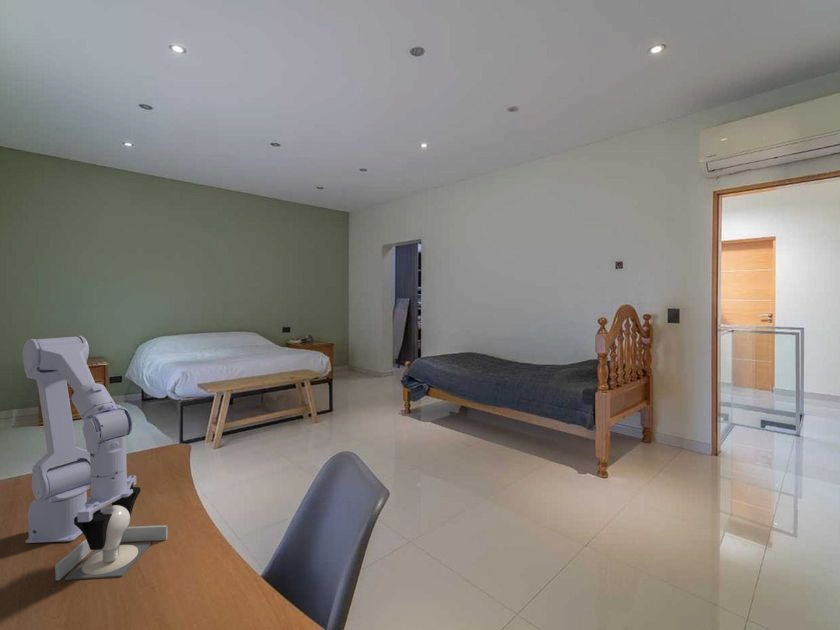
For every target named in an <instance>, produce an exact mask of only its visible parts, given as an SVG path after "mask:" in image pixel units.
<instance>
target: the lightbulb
mask: <svg viewBox="0 0 840 630" xmlns="http://www.w3.org/2000/svg"><path fill="white" fill-rule="evenodd" d="M102 512H103V514H112V516H111V518H110V520H109V523H108V526H107V530H106V541H105V546H104V548H103V549H102V551H103V552H102V553H103V554H102V555H103V556H102V557H103V558H102V559H103V561H104V562H112V561H114V560H115V559H117V558H118V557H119V544H121V543H122V542H121V538H122V535H123V533H124V532H125V530H126V529H127V527H129V525H130V523H131V517H130V513H129V511H128V510H127V509H126V508H125V507H123V506H120V505H112V504H111V505H107V506H105V507H103V508H102V509H101V513H102Z"/></svg>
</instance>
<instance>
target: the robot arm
mask: <svg viewBox="0 0 840 630" xmlns="http://www.w3.org/2000/svg"><path fill="white" fill-rule="evenodd" d="M89 347H90V346H89V343H88V340H87V339H86V338H85V337H84V336H83V335H76V336H66V337H65V336H64V337H63V336H62V337H51V338H49V337H47V338H36V339H35V338H29V339H28V340H27V341H26V342H25V343H24V344H23V348H22V354H21V355H22V362H23V368H24V373H25V375H26V378H28V379H31V380H35V381H36V386H37V389H38V395H39V402H40V409H41V416H42V421H43V422H42V423H43V424H42V425H43V429H44V430H43V431H44V438H45V443H46V451H47V452H46V453H45V455H43V457H41V458H40V459H39V460H38V461H37V462H36V463H34V465H33V466H32V470H31V473H32V474H31V477H32V478H31V489H32V494H33V495H34V499H33V500H32V501H31V502H30V505H29V508H28V512H27V524H28V525H27V526H28V528H27V529H28V530H27V531H28V538H27V539H26V540H25V544H36V543H37V544H38V543H55V542H56V543H59V542H72V541H74V540H76V539H77V538H79V536H81V535H82V534H83V536H84V537H85V539H86V540H87V542H88V545H89V547H90V549H91V550H92V551H95V550H101V549H103V548H104V546H105V541H106V530H107V526H108V523H109V520H110V518H111V516H112V514H103V512H102V513H101V510H102V509H104V508H106V507H108V506H110V504H111V506H112V505H120V506H123V507H125V508H126V509H127V510H128V511H129V513H130V518H131V517H132V512H133V508H134V505H135V503H136V500H137V498H138V496H139V495H140V493H141V487H140V486H135V485H137V475H128V472H127V469H128V468H127V467H128V466H127V437H126V436H129V435H130V434H131V432H132V430H133V420H132V417H131V414H130V411H129V410H128V409H127V408H126V407H124V406H122V405H121V404H116V402H115V401H114V399H113V398H112V396H111V394H110V392H109V391H108V390H107V388H106V387H105V385H104V384H103V383H97V382H96V381H95V379H94V377H93V375H92V373H91V370H90V367H89V365H88V363H87V362H88V359H89V353H90V348H89ZM68 385H69V386H70V388H71V389H72V390H73V394H72V395H71V400H70V396H69V395H70V394H69V388H68V387H69V386H68ZM70 401H71V402H72V404H73V405H74V407H75V409H76V410H77V412H78V414H79V416H80V418H81V420H82V422H83V426H82V433H83V437H84V441H85V444H86V445H85V447H86V449H84V448H81V447H79V446H77V442H76V436H75V429H74V422H73V414H72V407H71V402H70ZM89 489H90V495H89V496H88V494H87V493H88V490H89Z"/></svg>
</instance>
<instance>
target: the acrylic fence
mask: <svg viewBox="0 0 840 630" xmlns="http://www.w3.org/2000/svg"><path fill="white" fill-rule="evenodd" d="M168 526H169V525H164V524H163V525H141V526H137V525H136V526H128V527H127V529H126V530H125V532H124V533H123V535H122V538H121V542H120V543H126V542H127V543H129V542H130V543H133V542H149V541H150V542H151V541H152V542H153V541H167V540H168V539H169V538H168V537H169V535H168V532H169V531H168V530H169V527H168ZM92 551H93V550H91V549H90V547H89V545H88V542H87V540H86V538H85V539H84V540H82V542H80V543H79V544H78V545H76V546H75V548H73V549H72V550H71V551H70V552H69V553H67V555H65V556H64V557H63V558H62V559H61V560H59V561H58V562H57V563H56V564H55V566H54V568H55V569H54V571H55V581H60V580H62V579H63V578H64V577H65V576H66V574H68V573H69V572H70V571H72V569H74V568H75V567H76V565H79V564H78V563H80V562H82V560H83V559H84V558H85V557H87V556H88V555H90V553H91V552H92Z"/></svg>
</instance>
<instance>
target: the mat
mask: <svg viewBox="0 0 840 630" xmlns="http://www.w3.org/2000/svg"><path fill="white" fill-rule="evenodd" d="M151 545H152V542H135V543H133V542H131V543H120V544H119V557H118V558H117V559H115V560H114V561H112V562H104V561H103V559H102V558H103V557H102V556H103V555H102V554H103V553H102V552H103V551H102V549H101V550H93V552H92V553H91V554H89V555H88V557H86V559H84V560H83V561H81V563H80V564H78V566H77V567H76V568H74V569H73V570H71V572H70V573H69V574H68V575H67V576H66V577H64V580H65V581H71V580H72V581H73V580H87V579H88V580H89V579H90V580H91V579H105V578H106V579H107V578H123V576H124V575H125V574H126V573H127V572H128V571H129V570H130V569H131V567H132V566H133V565H134V564H135V563H136V562H137V561H138V559H139V558H140V557H141V556H142V555H143V554H144V553H145V552H146V550H147V549H148V548H149V547H150V546H151Z"/></svg>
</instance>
